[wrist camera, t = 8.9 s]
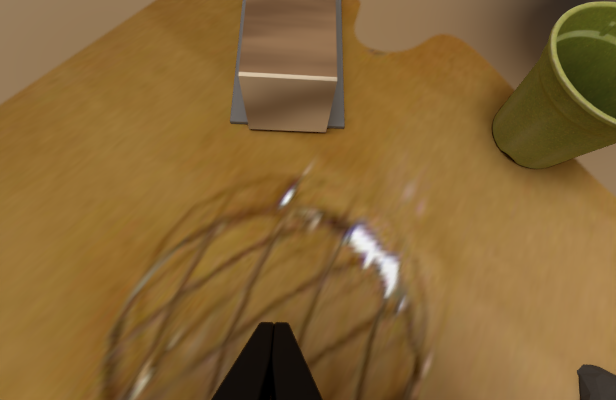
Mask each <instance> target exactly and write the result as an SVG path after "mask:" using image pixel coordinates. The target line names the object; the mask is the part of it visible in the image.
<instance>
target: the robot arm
mask: <svg viewBox="0 0 616 400" xmlns="http://www.w3.org/2000/svg"><path fill="white" fill-rule="evenodd" d="M211 400H323V399H322V397H321V395H320V392H319V390H318V388H317V386H316V383H315V381H314V379H313V377H312V374H311V372H310V370H309V368H308V365H307V363H306V361H305V359H304V356H303V354H302V352H301V350H300V347H299V345H298V343H297V341H296V339H295V336H294V334H293V332H292V330H291V327H290V325H289V324H288V323H287V322H276V323H275V324H274V323H273V322H261V323H259V325H258V326H257V328H256V329H255V331H254V333H253V334H252V336H251V337H250V339H249V341H248V342H247V344H246V345H245V347H244V348H243V350H242V352H241V353H240V355H239V356H238V358H237V360H236V361H235V363H234V364H233V366H232V367H231V369H230V371H229V372H228V374H227V375H226V377H225V379H224V380H223V382H222V383H221V385H220V386H219V388H218V390H217V391H216V393H215V394H214V396H213V398H212V399H211Z"/></svg>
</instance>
